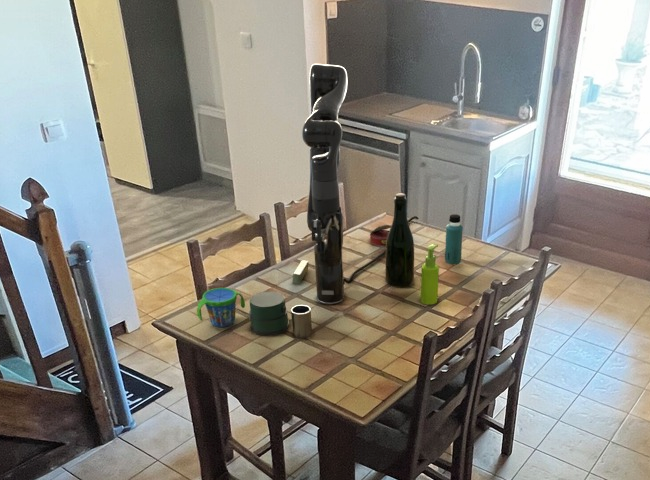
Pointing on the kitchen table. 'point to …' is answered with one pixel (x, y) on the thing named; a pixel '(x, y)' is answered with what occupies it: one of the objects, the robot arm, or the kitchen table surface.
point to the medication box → (300, 272)
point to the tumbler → (301, 321)
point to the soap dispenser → (429, 278)
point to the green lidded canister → (268, 314)
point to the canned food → (379, 235)
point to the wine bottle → (400, 247)
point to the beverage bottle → (453, 240)
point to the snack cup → (220, 306)
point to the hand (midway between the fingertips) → (328, 247)
